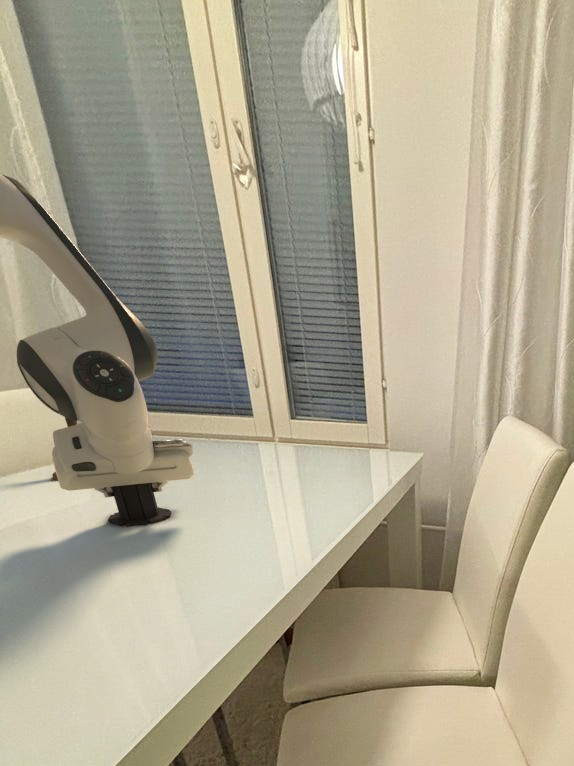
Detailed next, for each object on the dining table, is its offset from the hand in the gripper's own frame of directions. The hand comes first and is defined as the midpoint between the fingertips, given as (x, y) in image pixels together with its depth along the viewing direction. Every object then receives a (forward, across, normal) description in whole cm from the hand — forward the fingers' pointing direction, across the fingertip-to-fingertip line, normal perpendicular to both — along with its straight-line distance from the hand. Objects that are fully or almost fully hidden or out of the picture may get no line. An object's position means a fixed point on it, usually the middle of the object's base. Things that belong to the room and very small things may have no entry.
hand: (132, 491), depth 100 cm
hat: (+3, 0, +4) cm, 5 cm away
